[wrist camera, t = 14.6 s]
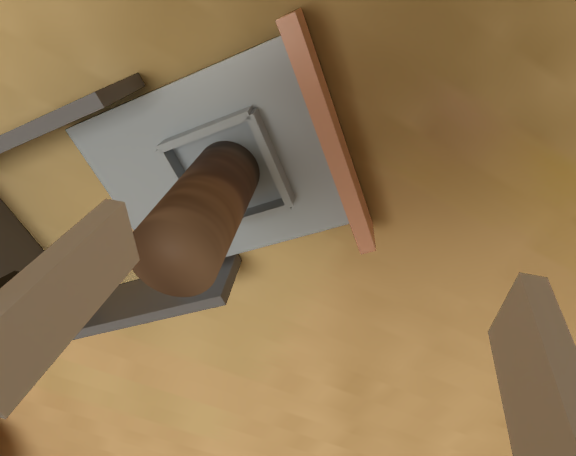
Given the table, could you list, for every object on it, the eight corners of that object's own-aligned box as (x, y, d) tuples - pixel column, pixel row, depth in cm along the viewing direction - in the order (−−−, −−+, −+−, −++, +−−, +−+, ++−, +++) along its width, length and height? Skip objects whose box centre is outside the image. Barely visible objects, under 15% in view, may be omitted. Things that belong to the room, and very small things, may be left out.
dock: (138, 72, 29) (94, 91, 24) (241, 260, 37) (225, 304, 32) (-46, 156, 35) (-112, 186, 29) (79, 303, 43) (44, 346, 38)
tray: (301, 7, 25) (295, 11, 22) (372, 223, 33) (376, 250, 29) (62, 114, 31) (29, 131, 28) (171, 276, 39) (155, 304, 35)
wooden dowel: (243, 132, 29) (189, 210, 19) (269, 190, 31) (233, 287, 21) (186, 152, 31) (108, 234, 20) (215, 206, 33) (156, 304, 23)
